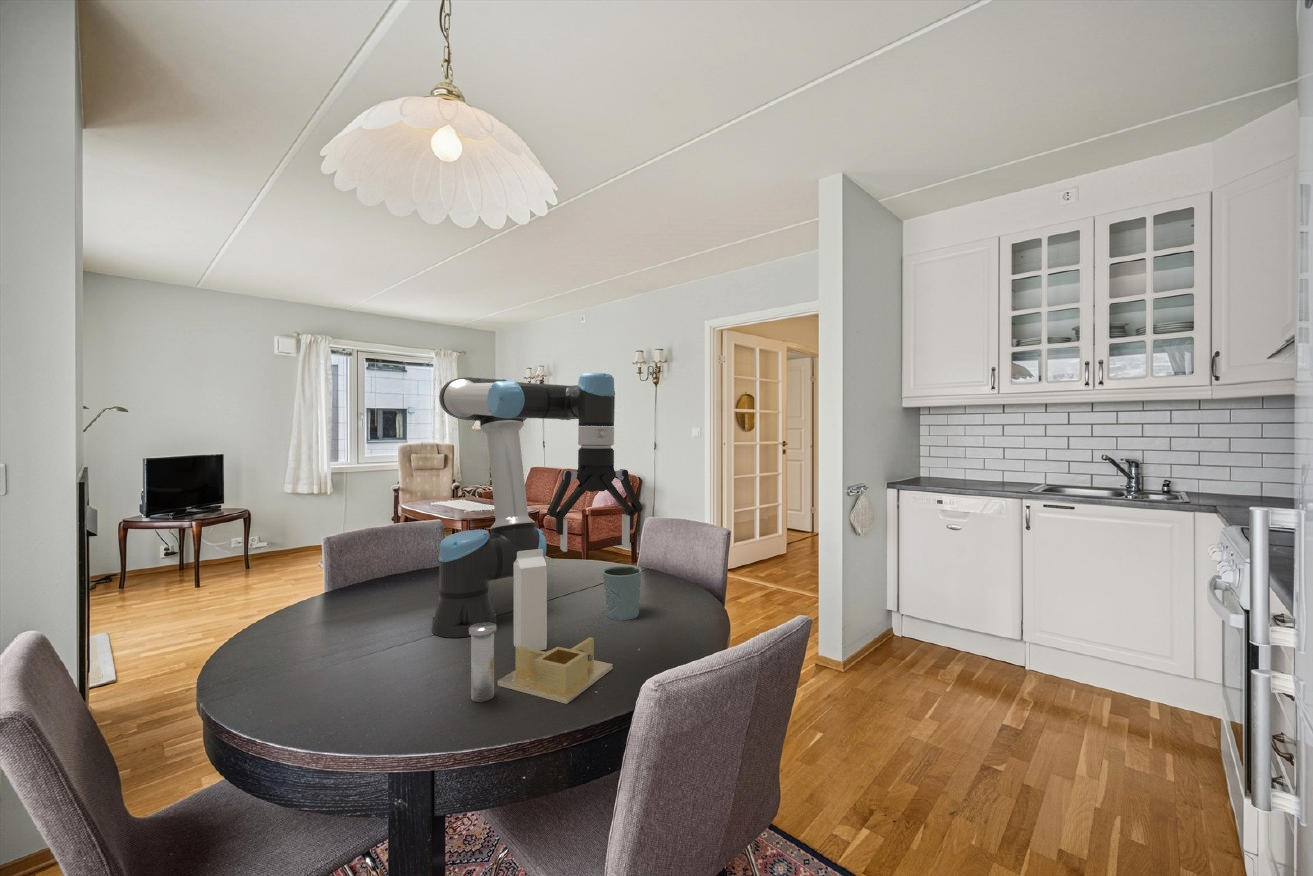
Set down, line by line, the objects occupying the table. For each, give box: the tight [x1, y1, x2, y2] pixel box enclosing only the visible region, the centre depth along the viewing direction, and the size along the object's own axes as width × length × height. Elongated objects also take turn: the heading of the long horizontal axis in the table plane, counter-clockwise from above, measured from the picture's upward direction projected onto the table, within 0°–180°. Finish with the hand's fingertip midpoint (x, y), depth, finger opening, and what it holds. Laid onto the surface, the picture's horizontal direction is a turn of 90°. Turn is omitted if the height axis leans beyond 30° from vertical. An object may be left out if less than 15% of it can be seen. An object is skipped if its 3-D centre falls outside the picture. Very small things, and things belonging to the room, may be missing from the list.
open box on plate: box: [497, 637, 613, 705], centre depth 107 cm, size 16×16×6 cm
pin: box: [469, 622, 497, 703], centre depth 99 cm, size 5×5×13 cm
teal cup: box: [602, 565, 642, 621], centre depth 143 cm, size 10×10×12 cm
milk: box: [513, 549, 548, 651], centre depth 121 cm, size 6×6×22 cm
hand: (595, 547), depth 113 cm, fingers open, 13 cm apart
